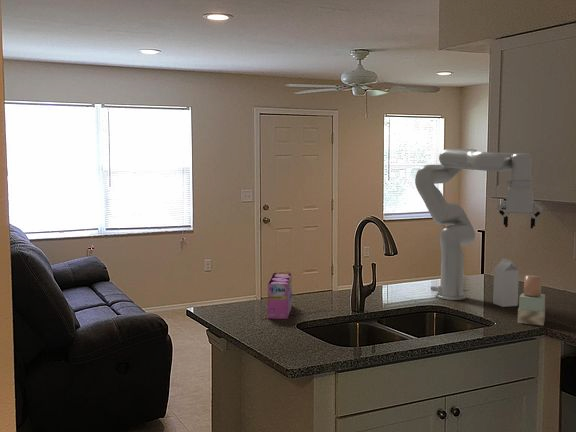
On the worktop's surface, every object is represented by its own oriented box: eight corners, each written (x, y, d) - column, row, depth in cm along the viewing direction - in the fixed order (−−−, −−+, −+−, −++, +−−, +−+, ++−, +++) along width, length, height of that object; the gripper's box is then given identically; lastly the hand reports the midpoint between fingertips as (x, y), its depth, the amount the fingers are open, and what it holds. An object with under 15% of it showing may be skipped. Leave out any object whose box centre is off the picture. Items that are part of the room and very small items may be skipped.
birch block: (517, 323, 244) (517, 310, 244) (519, 317, 252) (520, 305, 252) (543, 326, 241) (543, 312, 240) (544, 320, 249) (545, 307, 248)
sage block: (518, 309, 244) (519, 296, 244) (522, 305, 251) (522, 292, 251) (541, 312, 241) (542, 298, 240) (544, 307, 248) (545, 294, 247)
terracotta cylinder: (521, 294, 245) (523, 275, 244) (525, 292, 250) (526, 274, 249) (538, 296, 241) (540, 278, 241) (541, 295, 247) (543, 276, 246)
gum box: (273, 304, 273) (273, 272, 272) (292, 304, 273) (292, 272, 271) (267, 318, 249) (267, 283, 248) (288, 319, 249) (288, 283, 248)
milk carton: (502, 307, 269) (504, 261, 267) (492, 303, 276) (494, 258, 274) (517, 306, 271) (519, 260, 269) (507, 302, 278) (509, 258, 276)
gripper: (496, 184, 260) (495, 227, 262) (543, 185, 253) (541, 229, 255) (499, 183, 267) (497, 225, 269) (544, 184, 260) (542, 227, 262)
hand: (519, 227), depth 262 cm, fingers open, 9 cm apart
